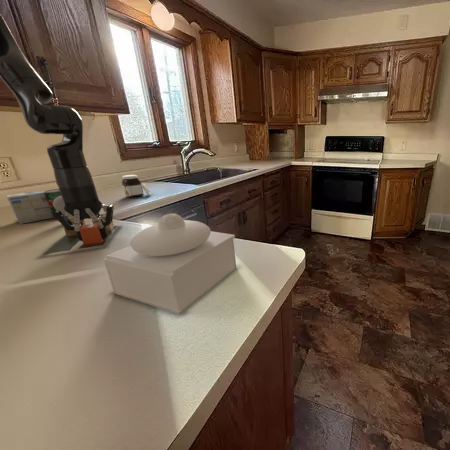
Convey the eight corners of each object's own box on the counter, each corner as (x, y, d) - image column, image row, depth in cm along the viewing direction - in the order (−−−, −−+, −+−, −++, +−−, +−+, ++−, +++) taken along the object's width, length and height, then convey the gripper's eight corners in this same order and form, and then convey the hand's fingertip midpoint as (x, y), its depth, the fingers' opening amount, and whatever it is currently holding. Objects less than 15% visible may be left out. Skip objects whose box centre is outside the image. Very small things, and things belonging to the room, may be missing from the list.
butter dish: (114, 295, 50) (91, 222, 45) (183, 256, 66) (172, 199, 60) (179, 316, 44) (161, 234, 38) (238, 268, 60) (231, 205, 54)
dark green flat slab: (41, 259, 66) (39, 255, 65) (71, 234, 83) (70, 231, 83) (104, 249, 71) (103, 245, 71) (120, 227, 88) (119, 224, 88)
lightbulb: (60, 228, 89) (49, 198, 85) (61, 224, 93) (50, 195, 89) (82, 224, 92) (72, 195, 89) (82, 220, 97) (72, 193, 93)
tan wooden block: (95, 232, 81) (91, 218, 79) (99, 228, 84) (95, 214, 83) (111, 230, 82) (106, 216, 80) (114, 226, 86) (110, 213, 84)
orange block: (84, 245, 71) (78, 229, 70) (89, 240, 75) (84, 224, 73) (102, 242, 73) (97, 226, 71) (106, 237, 76) (101, 222, 75)
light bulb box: (53, 214, 105) (43, 189, 101) (57, 217, 101) (47, 191, 97) (17, 221, 97) (5, 194, 93) (19, 224, 93) (7, 197, 89)
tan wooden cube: (66, 236, 78) (61, 221, 76) (72, 232, 81) (66, 217, 80) (83, 234, 79) (78, 219, 78) (87, 230, 83) (82, 216, 81)
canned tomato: (49, 217, 101) (39, 191, 97) (72, 212, 108) (63, 187, 104) (61, 219, 98) (50, 192, 94) (83, 213, 105) (74, 188, 101)
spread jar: (123, 197, 135) (117, 175, 131) (144, 193, 143) (140, 173, 139) (132, 199, 128) (127, 177, 124) (154, 195, 137) (150, 174, 133)
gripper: (110, 179, 74) (125, 232, 80) (49, 183, 68) (70, 240, 74) (103, 183, 67) (120, 240, 73) (35, 188, 62) (59, 249, 68)
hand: (95, 240), depth 74 cm, fingers closed on orange block, 4 cm apart
